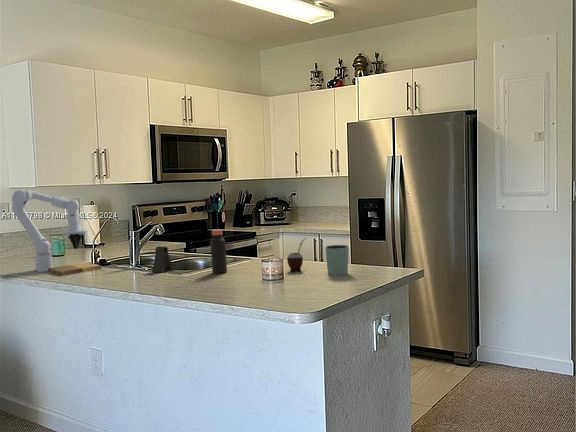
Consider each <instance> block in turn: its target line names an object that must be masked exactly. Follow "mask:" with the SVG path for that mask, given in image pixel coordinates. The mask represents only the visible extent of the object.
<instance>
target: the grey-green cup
mask: <svg viewBox="0 0 576 432" xmlns="http://www.w3.org/2000/svg"><path fill="white" fill-rule="evenodd" d="M349 248H350V247H349V245H345V244H331V245H327V246H325V257H326V268H327V274H328V275H329V276H336V277H337V276H346V275H348V270H349Z"/></svg>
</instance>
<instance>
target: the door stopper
mask: <svg viewBox="0 0 576 432" xmlns="http://www.w3.org/2000/svg"><path fill="white" fill-rule="evenodd" d="M154 249H155V255H154V260H153V264H152V269H151V272H152V273H156V274H157V273H158V274H161V273H165V272H166V273H167V272H171V271H175V268H174V265H173V263H172V259H171V258H170V255H169V249H168V247H167V246H160V245H159V246H156V247H155V248H154Z"/></svg>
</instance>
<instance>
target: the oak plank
mask: <svg viewBox="0 0 576 432" xmlns="http://www.w3.org/2000/svg"><path fill="white" fill-rule="evenodd" d="M67 265H68V266H72V267H77V268H81V269H82V273H87V272H86V271H88V272H93V270H94V271H99V270H102V265H100V264H96V263H91V262H81V263H74V264H67Z"/></svg>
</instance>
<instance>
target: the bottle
mask: <svg viewBox="0 0 576 432" xmlns="http://www.w3.org/2000/svg"><path fill="white" fill-rule="evenodd" d="M223 234H224V233H223V229H219V228H217V229H212V230H211V235H212V239H210V257H211V270H212V271H211V272H212V274H216V275H218V274H220V275H221V274H226V273H227V272H228V266H227V250H226V247H227V246H226V240H225V239H224V237H223Z"/></svg>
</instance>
